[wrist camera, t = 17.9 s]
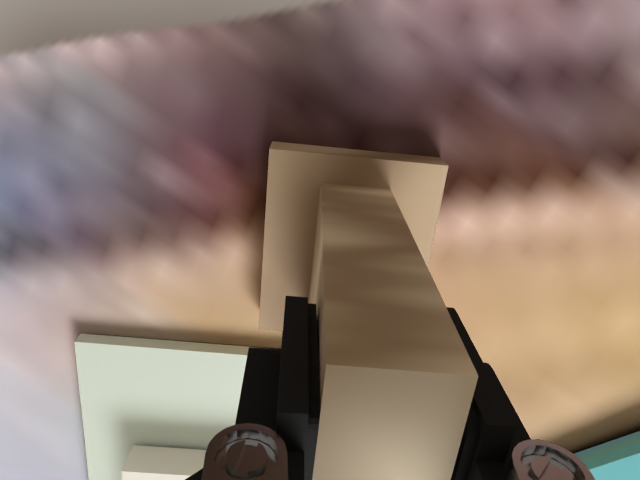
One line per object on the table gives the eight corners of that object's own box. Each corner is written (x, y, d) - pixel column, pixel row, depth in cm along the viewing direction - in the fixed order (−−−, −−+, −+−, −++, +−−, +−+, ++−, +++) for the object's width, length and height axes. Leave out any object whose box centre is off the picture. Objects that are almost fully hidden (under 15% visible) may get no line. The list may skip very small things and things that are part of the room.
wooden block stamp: (440, 157, 18) (609, 330, 8) (407, 324, 21) (500, 621, 10) (272, 141, 18) (210, 298, 7) (261, 313, 20) (205, 605, 10)
